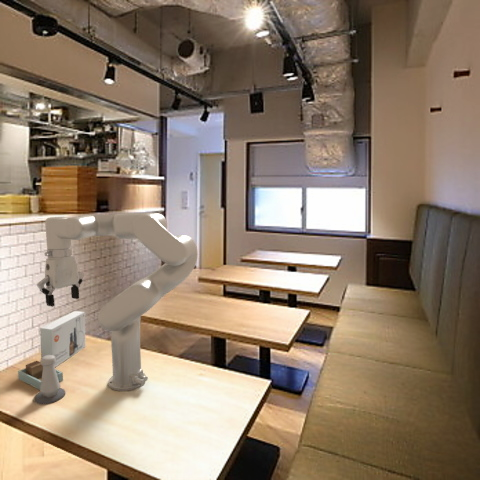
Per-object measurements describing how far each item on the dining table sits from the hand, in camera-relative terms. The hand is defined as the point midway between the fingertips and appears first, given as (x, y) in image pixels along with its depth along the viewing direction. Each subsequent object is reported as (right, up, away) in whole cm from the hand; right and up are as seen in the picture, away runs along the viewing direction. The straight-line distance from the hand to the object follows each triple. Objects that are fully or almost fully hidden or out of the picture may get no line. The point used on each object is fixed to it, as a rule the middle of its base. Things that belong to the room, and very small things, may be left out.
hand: (63, 301), depth 130 cm
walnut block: (-12, -28, +5) cm, 31 cm away
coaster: (-1, -30, -8) cm, 31 cm away
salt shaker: (-1, -29, -8) cm, 30 cm away
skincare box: (-9, -26, +21) cm, 34 cm away
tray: (-9, -28, +3) cm, 30 cm away
